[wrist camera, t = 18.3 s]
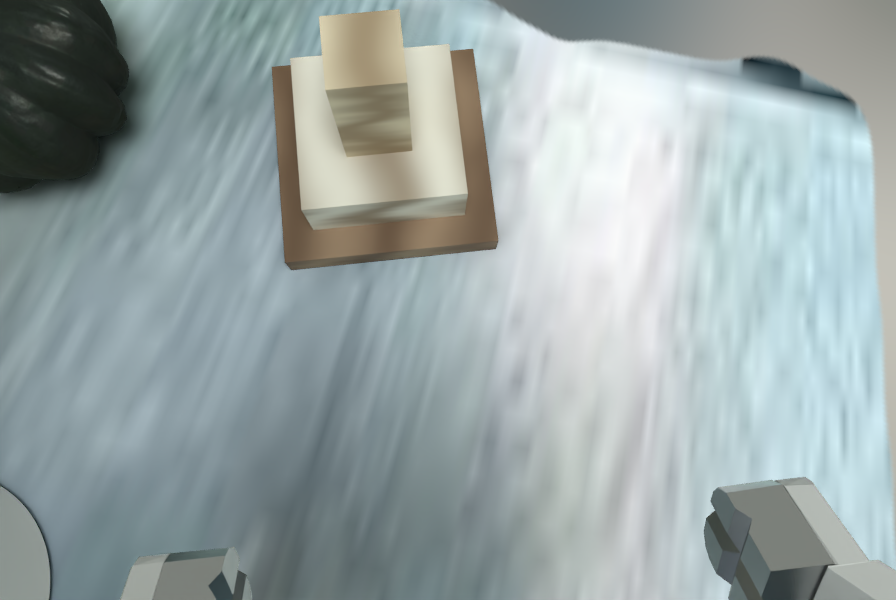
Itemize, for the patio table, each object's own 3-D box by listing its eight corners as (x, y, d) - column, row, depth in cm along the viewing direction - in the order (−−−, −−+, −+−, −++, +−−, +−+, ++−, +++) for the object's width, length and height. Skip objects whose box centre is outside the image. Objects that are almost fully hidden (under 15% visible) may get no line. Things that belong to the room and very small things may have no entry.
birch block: (346, 157, 39) (325, 89, 31) (341, 96, 40) (319, 16, 32) (412, 150, 39) (407, 82, 32) (405, 90, 40) (399, 9, 32)
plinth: (291, 269, 44) (269, 245, 38) (278, 82, 47) (256, 32, 41) (495, 248, 45) (505, 221, 39) (471, 64, 47) (476, 13, 41)
